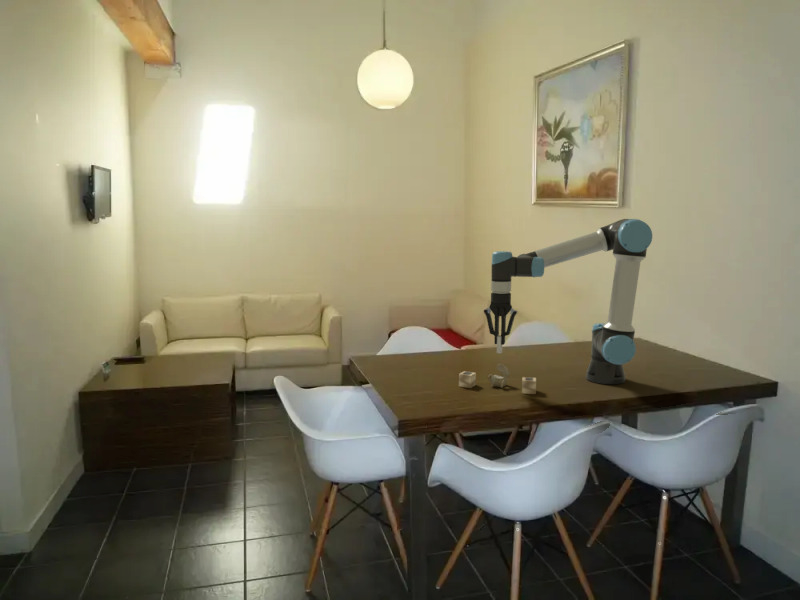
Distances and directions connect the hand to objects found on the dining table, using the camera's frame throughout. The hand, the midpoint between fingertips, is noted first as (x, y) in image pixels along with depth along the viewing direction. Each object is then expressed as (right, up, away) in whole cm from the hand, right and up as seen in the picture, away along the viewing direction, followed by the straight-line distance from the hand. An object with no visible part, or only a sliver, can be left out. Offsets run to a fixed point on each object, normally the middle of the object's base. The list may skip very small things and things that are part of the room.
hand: (499, 352), depth 240 cm
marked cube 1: (-12, -13, +4) cm, 18 cm away
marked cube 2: (+10, -15, -5) cm, 19 cm away
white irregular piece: (0, -14, +2) cm, 14 cm away
